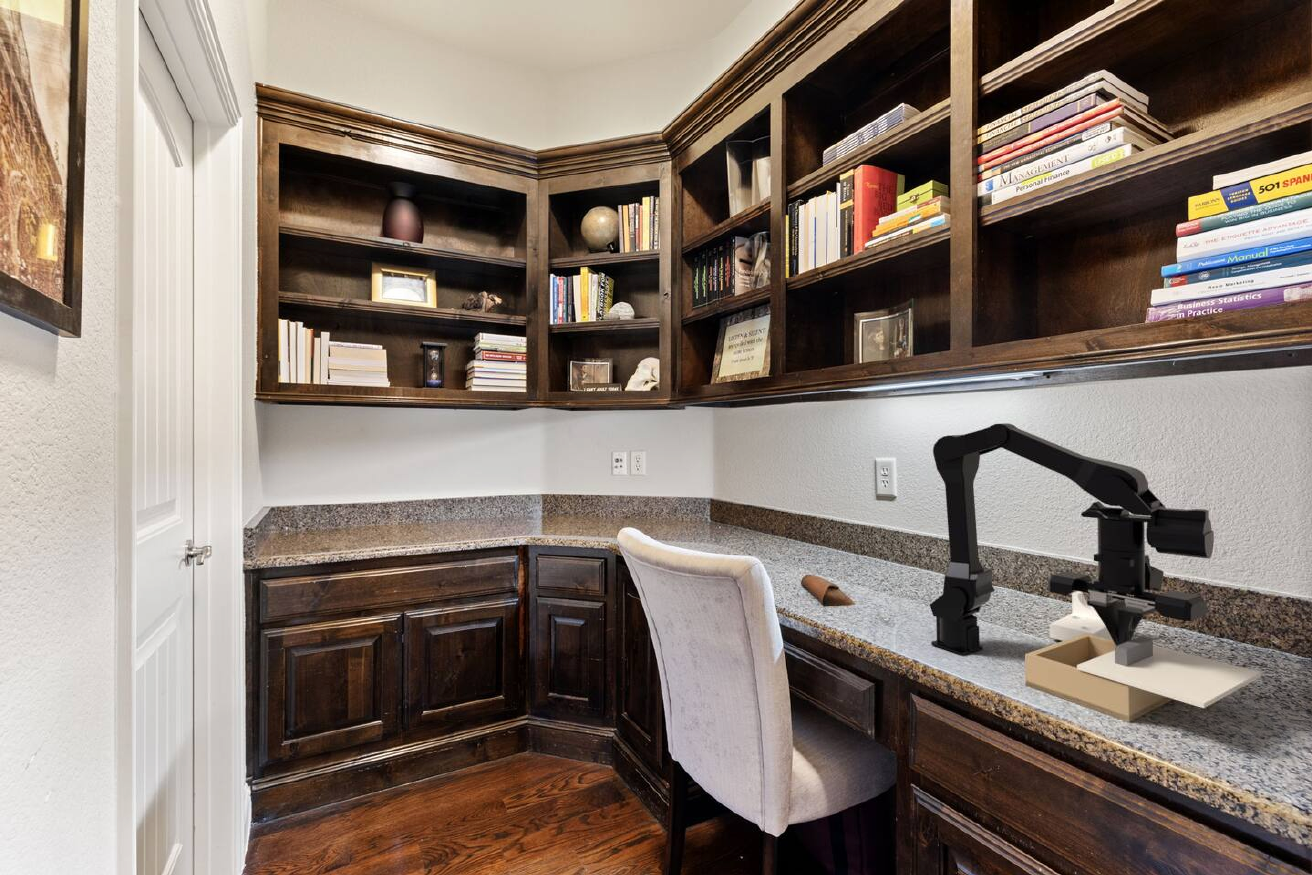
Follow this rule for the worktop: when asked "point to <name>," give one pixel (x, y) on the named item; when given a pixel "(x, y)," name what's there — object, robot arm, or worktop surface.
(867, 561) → the worktop surface
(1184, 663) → the lid
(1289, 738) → the worktop surface
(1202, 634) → the worktop surface
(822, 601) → the sunglasses case
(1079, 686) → the box
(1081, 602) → the bracket
